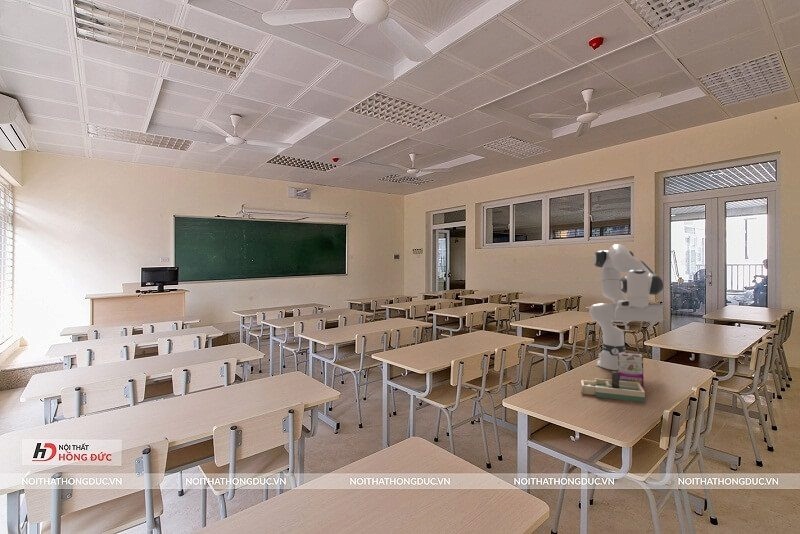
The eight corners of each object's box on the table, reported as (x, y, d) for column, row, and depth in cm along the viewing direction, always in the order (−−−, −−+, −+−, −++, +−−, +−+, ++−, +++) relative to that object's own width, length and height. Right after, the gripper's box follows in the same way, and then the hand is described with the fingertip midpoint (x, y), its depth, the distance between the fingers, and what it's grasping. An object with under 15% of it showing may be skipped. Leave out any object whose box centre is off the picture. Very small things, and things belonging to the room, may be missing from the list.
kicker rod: (605, 385, 183) (605, 370, 183) (618, 387, 181) (618, 371, 181) (606, 389, 179) (606, 373, 179) (620, 390, 177) (619, 374, 176)
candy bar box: (642, 384, 192) (642, 353, 191) (643, 387, 187) (643, 356, 187) (618, 381, 197) (617, 351, 196) (618, 384, 192) (618, 353, 192)
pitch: (580, 385, 192) (580, 376, 192) (639, 391, 181) (638, 382, 181) (582, 395, 179) (582, 385, 179) (645, 402, 169) (644, 392, 169)
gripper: (661, 302, 179) (662, 330, 179) (613, 301, 187) (614, 327, 187) (665, 303, 173) (665, 332, 173) (615, 302, 181) (615, 330, 181)
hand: (638, 330), depth 180 cm, fingers open, 8 cm apart
